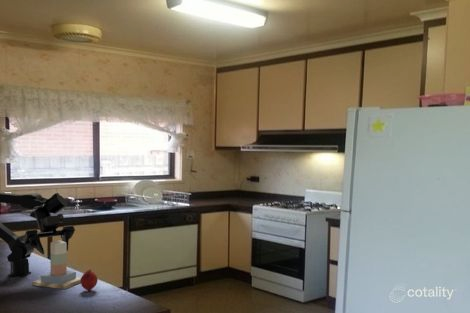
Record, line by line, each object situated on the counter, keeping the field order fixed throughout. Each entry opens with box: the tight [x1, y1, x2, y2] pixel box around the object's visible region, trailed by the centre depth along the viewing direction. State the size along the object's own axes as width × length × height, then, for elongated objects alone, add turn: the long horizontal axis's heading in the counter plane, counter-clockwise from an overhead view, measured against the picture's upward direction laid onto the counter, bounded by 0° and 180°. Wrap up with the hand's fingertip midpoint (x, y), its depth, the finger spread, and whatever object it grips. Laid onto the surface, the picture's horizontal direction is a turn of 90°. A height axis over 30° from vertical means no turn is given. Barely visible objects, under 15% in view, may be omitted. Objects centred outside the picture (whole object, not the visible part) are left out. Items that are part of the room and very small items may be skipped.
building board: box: [31, 276, 82, 290], centre depth 180 cm, size 15×11×1 cm
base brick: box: [40, 270, 77, 284], centre depth 180 cm, size 9×9×2 cm
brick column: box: [49, 239, 68, 276], centre depth 179 cm, size 4×4×13 cm
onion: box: [80, 268, 98, 292], centre depth 170 cm, size 6×6×8 cm
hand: (55, 252), depth 181 cm, fingers open, 9 cm apart
